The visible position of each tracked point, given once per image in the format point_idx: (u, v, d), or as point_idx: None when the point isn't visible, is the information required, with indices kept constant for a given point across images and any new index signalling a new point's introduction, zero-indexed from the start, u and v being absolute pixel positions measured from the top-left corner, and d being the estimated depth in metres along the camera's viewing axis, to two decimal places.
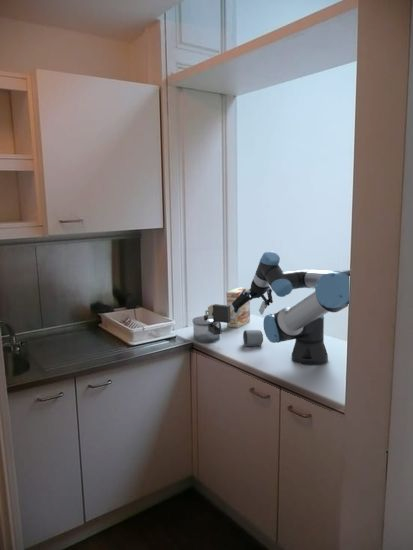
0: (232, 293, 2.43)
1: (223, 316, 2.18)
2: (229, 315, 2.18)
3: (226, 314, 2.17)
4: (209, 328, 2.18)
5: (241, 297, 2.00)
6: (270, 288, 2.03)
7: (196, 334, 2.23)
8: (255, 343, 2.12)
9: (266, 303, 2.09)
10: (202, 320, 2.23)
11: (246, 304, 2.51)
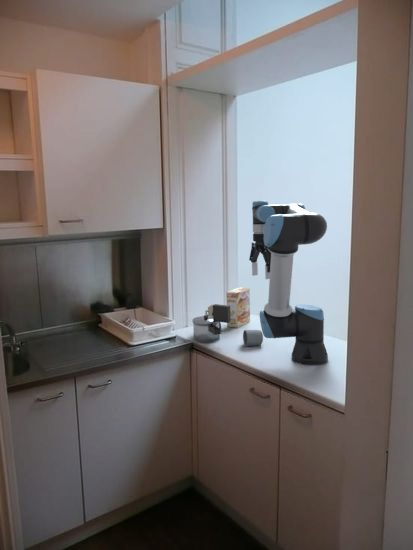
0: (232, 293, 2.43)
1: (223, 316, 2.18)
2: (229, 315, 2.18)
3: (226, 314, 2.17)
4: (209, 328, 2.18)
5: None
6: None
7: (196, 334, 2.23)
8: (255, 343, 2.12)
9: None
10: (202, 320, 2.23)
11: (246, 304, 2.51)
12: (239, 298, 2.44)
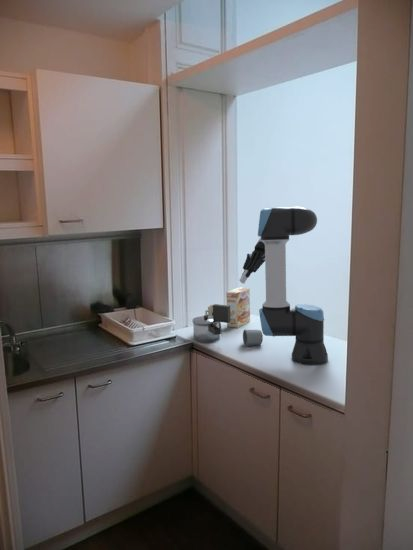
0: (232, 293, 2.43)
1: (223, 316, 2.18)
2: (229, 315, 2.18)
3: (226, 314, 2.17)
4: (209, 328, 2.18)
5: None
6: None
7: (196, 334, 2.23)
8: (255, 343, 2.12)
9: (249, 267, 2.27)
10: (202, 320, 2.23)
11: (246, 304, 2.51)
12: (239, 298, 2.44)
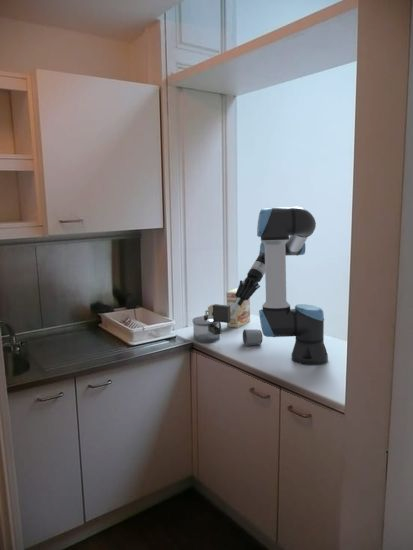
0: (232, 293, 2.43)
1: (223, 316, 2.18)
2: (229, 315, 2.18)
3: (226, 314, 2.17)
4: (209, 328, 2.18)
5: None
6: (258, 284, 2.24)
7: (196, 334, 2.23)
8: (254, 342, 2.13)
9: (241, 295, 2.25)
10: (202, 320, 2.23)
11: (246, 304, 2.51)
12: None
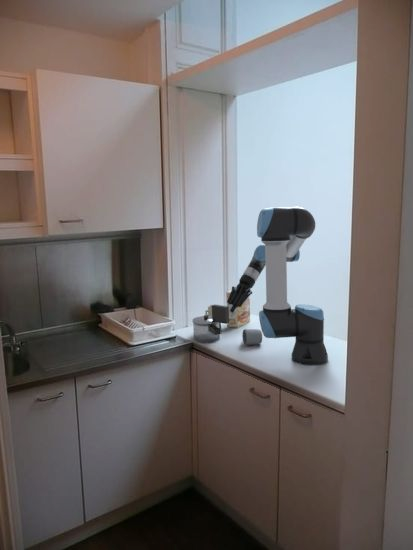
0: None
1: (221, 317, 2.17)
2: (227, 316, 2.16)
3: (224, 314, 2.16)
4: (209, 328, 2.18)
5: None
6: (250, 290, 2.21)
7: (196, 334, 2.23)
8: (254, 342, 2.13)
9: (234, 302, 2.21)
10: (201, 320, 2.23)
11: (246, 304, 2.51)
12: None
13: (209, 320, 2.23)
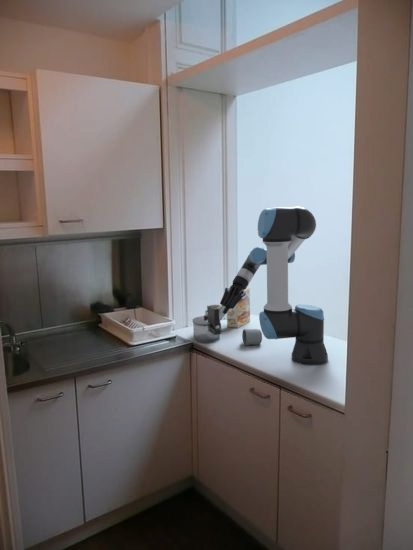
0: None
1: (212, 319, 2.15)
2: (216, 318, 2.13)
3: (213, 317, 2.13)
4: (209, 328, 2.18)
5: None
6: None
7: (196, 334, 2.23)
8: (254, 342, 2.13)
9: (226, 303, 2.19)
10: (200, 320, 2.24)
11: (246, 304, 2.51)
12: None
13: (206, 320, 2.23)
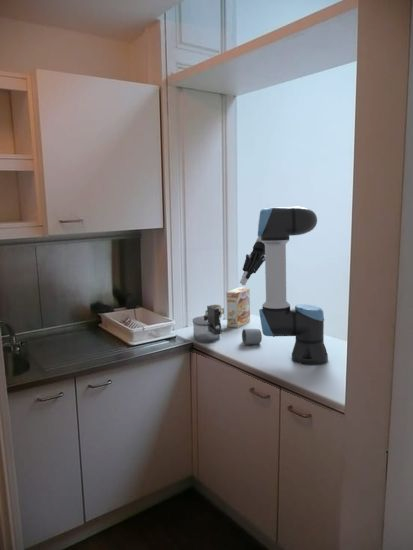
0: (232, 293, 2.43)
1: (212, 319, 2.15)
2: (216, 318, 2.13)
3: (213, 317, 2.13)
4: (209, 328, 2.18)
5: None
6: (265, 256, 2.24)
7: (196, 334, 2.23)
8: (254, 342, 2.14)
9: (249, 269, 2.25)
10: (200, 320, 2.24)
11: (246, 304, 2.51)
12: (239, 298, 2.44)
13: (206, 320, 2.23)
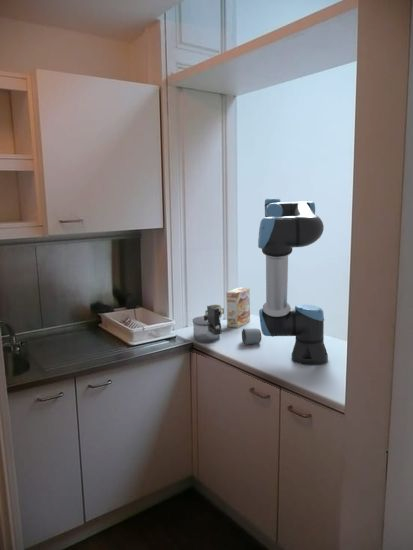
0: (232, 293, 2.43)
1: (212, 319, 2.15)
2: (216, 318, 2.13)
3: (213, 317, 2.13)
4: (209, 328, 2.18)
5: None
6: None
7: (196, 334, 2.23)
8: (253, 341, 2.14)
9: None
10: (200, 320, 2.24)
11: (246, 304, 2.51)
12: (239, 298, 2.44)
13: (206, 320, 2.23)
